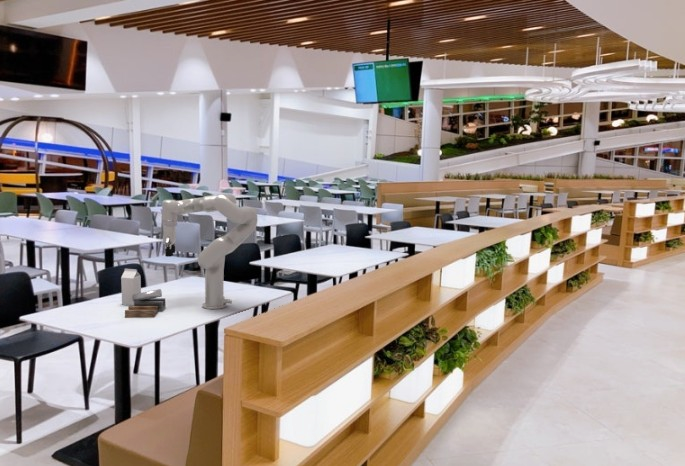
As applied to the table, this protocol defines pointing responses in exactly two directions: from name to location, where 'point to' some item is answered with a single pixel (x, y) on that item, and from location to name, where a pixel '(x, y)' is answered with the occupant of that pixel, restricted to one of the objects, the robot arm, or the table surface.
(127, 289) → the milk carton
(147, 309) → the brown piece
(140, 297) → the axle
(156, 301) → the v block
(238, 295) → the table surface
